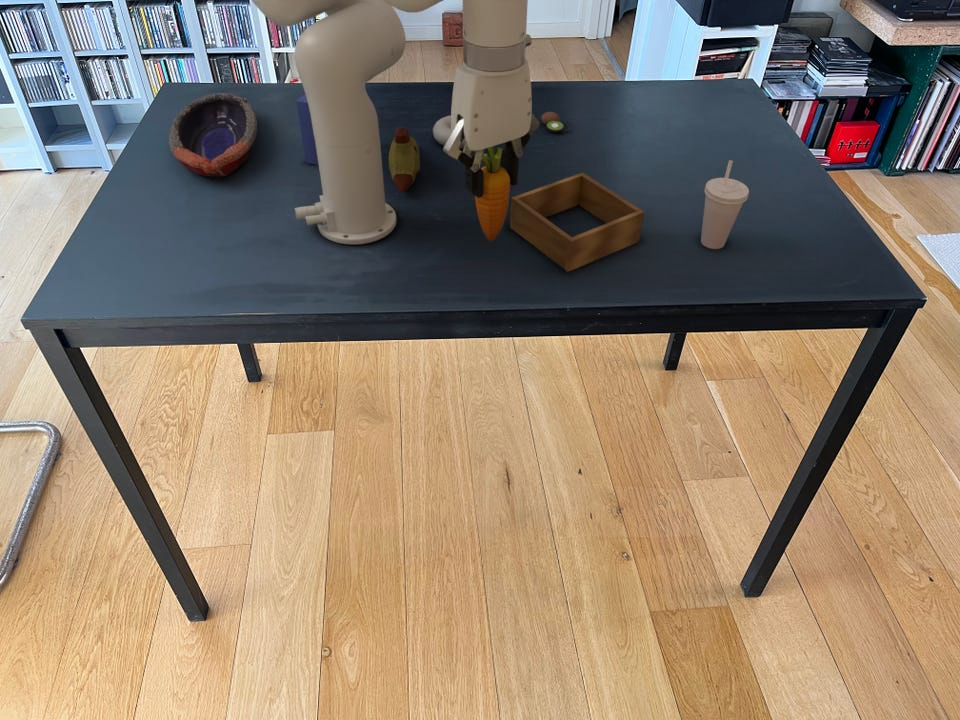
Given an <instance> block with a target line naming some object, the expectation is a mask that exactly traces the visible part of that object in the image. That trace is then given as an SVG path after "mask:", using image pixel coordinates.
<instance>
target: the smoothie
mask: <svg viewBox="0 0 960 720" xmlns="http://www.w3.org/2000/svg"><path fill="white" fill-rule="evenodd" d="M732 166H733V160H731V159H729V160H728V163H727V167H726V170H725V174H724V177H716V178H711V179H709V180H708V181H707V182H706V184H705V188H704V190H703V191H704V194H705V198H704V207H703V217H702V226H701V235H700V243H701V245H702V246H704V247H706V248H707V249H711V250H720V249H722V248H724V247H725V245H726V242H727V240H728V238H729V236H730V233H731V231H732V229H733V227H734V225H735V222H736V220H737V218H738V215H739V213H740V211H741V209H742V207H743V204H744V203H745V202H746V201H748V199H749V194H750V190H749V189H750V188H748V186H747V185H746V184H745V183H743V182H741V181H739V180H736V179H734V178H729V177H730V174H731V170H732Z"/></svg>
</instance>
